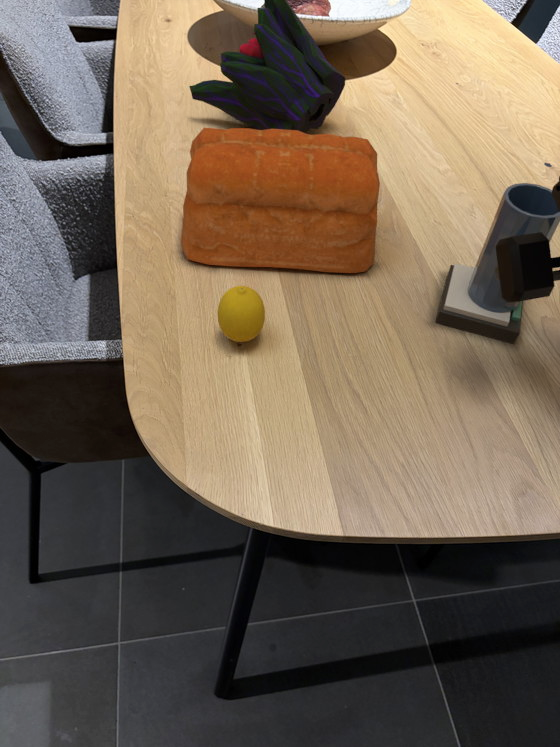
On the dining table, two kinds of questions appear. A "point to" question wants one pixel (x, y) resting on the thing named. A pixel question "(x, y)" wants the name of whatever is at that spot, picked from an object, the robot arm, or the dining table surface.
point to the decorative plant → (275, 76)
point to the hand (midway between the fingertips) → (531, 267)
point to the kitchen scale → (474, 310)
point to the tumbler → (513, 218)
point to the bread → (281, 200)
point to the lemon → (241, 313)
